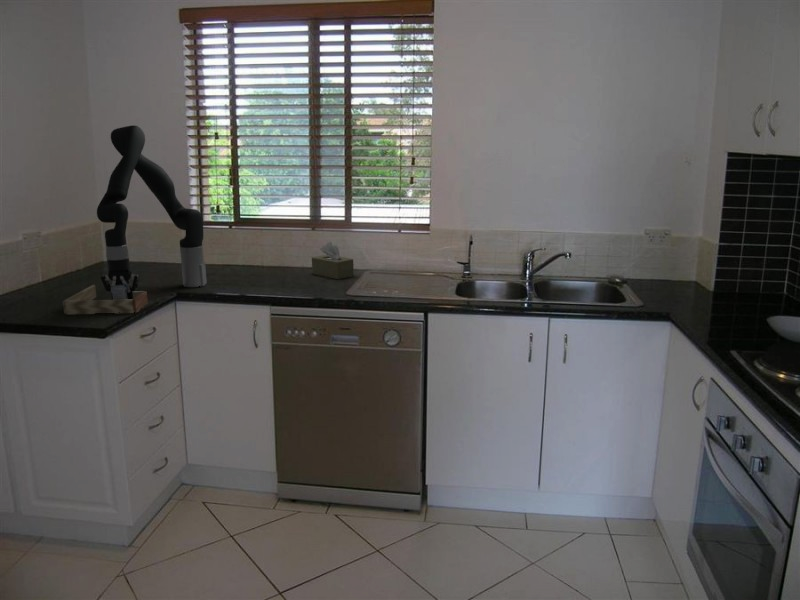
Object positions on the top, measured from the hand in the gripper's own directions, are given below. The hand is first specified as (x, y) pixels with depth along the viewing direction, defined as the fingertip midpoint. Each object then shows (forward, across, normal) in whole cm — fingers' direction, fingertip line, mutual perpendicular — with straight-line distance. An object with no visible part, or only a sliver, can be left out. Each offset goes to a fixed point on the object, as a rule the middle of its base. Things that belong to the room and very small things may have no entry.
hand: (123, 301), depth 249 cm
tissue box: (+3, -76, -55) cm, 94 cm away
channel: (+3, +6, -6) cm, 10 cm away
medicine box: (+2, 0, 0) cm, 2 cm away
